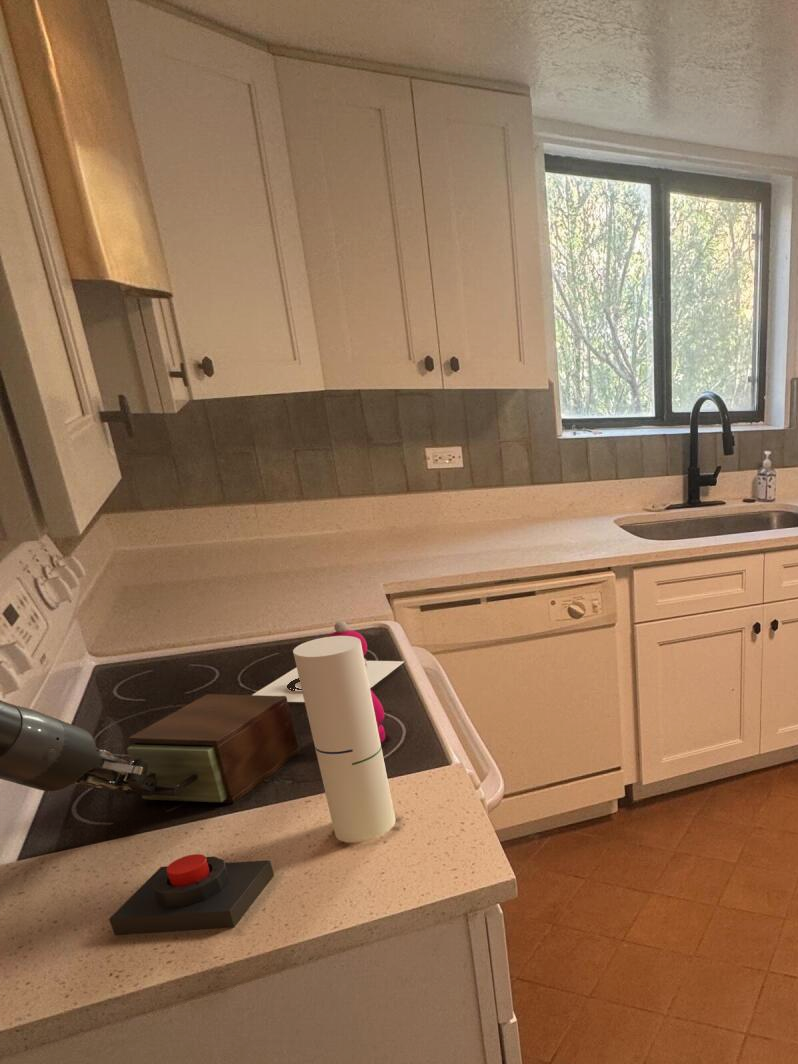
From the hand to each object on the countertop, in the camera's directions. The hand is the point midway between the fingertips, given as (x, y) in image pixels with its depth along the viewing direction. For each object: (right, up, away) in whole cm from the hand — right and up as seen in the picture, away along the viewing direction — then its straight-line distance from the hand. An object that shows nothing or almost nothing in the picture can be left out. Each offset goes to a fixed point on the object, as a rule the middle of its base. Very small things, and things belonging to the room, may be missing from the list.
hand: (149, 788), depth 100 cm
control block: (+16, -11, -13) cm, 23 cm away
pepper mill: (+16, +3, +23) cm, 29 cm away
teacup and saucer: (-2, +12, +47) cm, 49 cm away
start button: (+16, -7, -15) cm, 23 cm away
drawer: (+1, -1, +10) cm, 10 cm away
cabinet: (+1, -1, +13) cm, 14 cm away
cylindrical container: (+27, -5, +1) cm, 28 cm away
